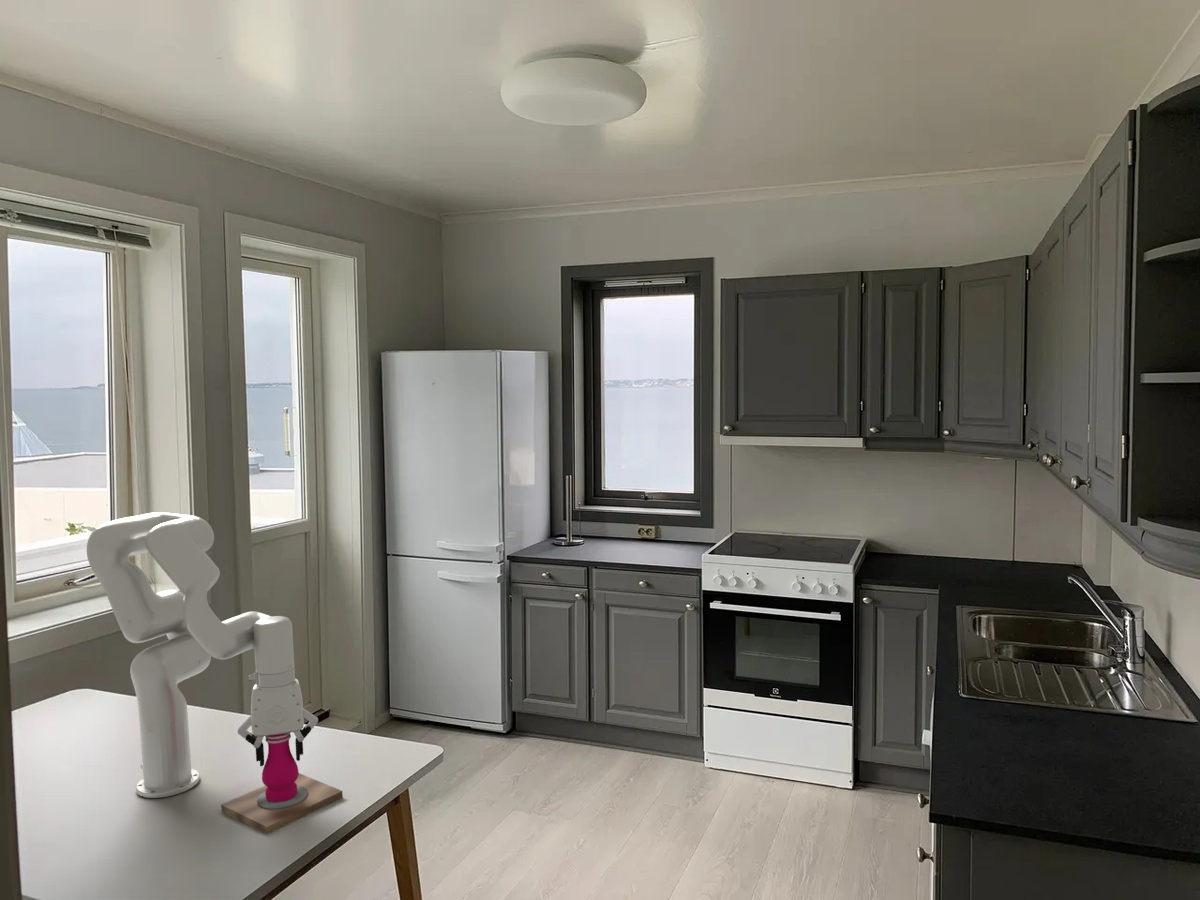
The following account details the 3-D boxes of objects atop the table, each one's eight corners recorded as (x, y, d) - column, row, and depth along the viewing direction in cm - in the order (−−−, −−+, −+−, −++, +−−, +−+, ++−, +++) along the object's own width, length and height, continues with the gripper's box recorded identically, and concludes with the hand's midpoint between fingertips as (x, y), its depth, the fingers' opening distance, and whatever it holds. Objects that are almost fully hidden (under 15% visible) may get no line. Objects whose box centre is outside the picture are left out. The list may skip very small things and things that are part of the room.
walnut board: (221, 811, 186) (221, 802, 185) (296, 778, 200) (296, 770, 200) (267, 834, 176) (266, 824, 176) (342, 797, 191) (342, 789, 190)
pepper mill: (287, 804, 184) (282, 709, 182) (256, 802, 185) (250, 707, 184) (306, 788, 191) (301, 696, 189) (275, 786, 192) (270, 695, 191)
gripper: (229, 688, 179) (234, 775, 181) (320, 677, 185) (324, 761, 186) (231, 676, 186) (236, 760, 188) (319, 666, 192) (323, 747, 194)
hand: (280, 760), depth 187 cm, fingers open, 6 cm apart
